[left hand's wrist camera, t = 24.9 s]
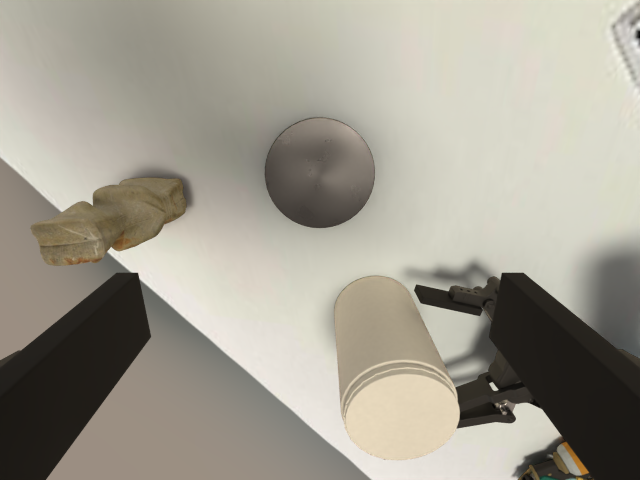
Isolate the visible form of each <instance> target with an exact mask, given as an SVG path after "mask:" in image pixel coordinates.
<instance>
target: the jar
mask: <svg viewBox="0 0 640 480" xmlns="http://www.w3.org/2000/svg"><path fill="white" fill-rule="evenodd" d="M334 317H335V332H336V346H337V361H338V375H339V390H340V404H341V414H342V418H343V421H344V424H345V429H346V431H347V433H348V435H349V437H350V439H351V440H352V441H353V442H354V443H355V444H356V445H357V446H358V447H359V448H360V449H362V450H363V451H365V452H366V453H368V454H370V455H373V456H376V457H379V458H383V459H387V460H407V459H413V458H418V457H421V456H424V455H427V454H429V453H431V452H433V451H435V450H436V449H438V448H440V447H441V446H442V445H444V444H445V443H446V442H447V441H448V440H449V439H450V437H451V436H452V435H453V433H454V432H455V430H456V428H457V426H458V422H459V417H460V409H459V404H458V397H457V392H456V388H455V386H454V384H453V382H452V380H451V378H450V376H449V374H448V372H447V369H446V367H445V365H444V363H443V361H442V359H441V357H440V355H439V353H438V351H437V349H436V347H435V345H434V343H433V340H432V338H431V336H430V334H429V332H428V330H427V328H426V326H425V324H424V322H423V320H422V318H421V316H420V314H419V311H418V309H417V307H416V305H415V303H414V301H413V299H412V297H411V295H410V293H409V292H408V290H407V289H406V288H405V287H404V286H403V285H402V284H401V283H399V282H397V281H395V280H393V279H391V278H387V277H382V276H370V277H365V278H361V279H359V280H356V281H354V282H353V283H351V284H350V285H348V286H347V287H346V288H345V289H344V290H343V291H342V292H341V294H340V295H339V297H338V298H337V301H336V303H335V308H334Z"/></svg>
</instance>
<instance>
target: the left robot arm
mask: <svg viewBox="0 0 640 480" xmlns="http://www.w3.org/2000/svg"><path fill="white" fill-rule="evenodd" d="M150 338H151V334H150V329H149V324H148V320H147V314H146V310H145V305H144V300H143V295H142V290H141V285H140V280H139V275H138V273H116V274H115V275H113V276H112V277H111V278H110V279H108V280H107V281H106V282H105V283H104V284H102V285H101V286H100V287H99V288H97V289H96V290H95V291H94V292H93V293H91V294H90V295H89V296H88V297H86V298H85V299H84V300H83V301H81V302H80V303H79V304H78V305H77V306H75V307H74V308H73V309H72V310H70V311H69V312H68V313H67V314H66V315H64V316H63V317H62V318H61V319H59V320H58V321H57V322H56V323H55V324H53V325H52V326H51V327H50V328H48V329H47V330H46V331H45V332H43V333H42V334H41V335H40V336H38V337H37V338H36V339H35V340H34V341H32V342H31V343H30V344H29V345H27V346H26V347H25V348H24V349H22V350H21V351H17V352H15V353H13V354H11V355H9V356H7V357H5V358H4V359H2V360H0V480H46V479H47V477H48V476H49V475H50V473H51V472H52V471H53V469H54V468H55V466H56V465H57V464H58V463H59V461H60V460H61V458H62V457H63V456H64V454H65V453H66V452H67V450H68V449H69V448H70V446H71V445H72V444H73V442H74V441H75V439H76V438H77V437H78V435H79V434H80V433H81V431H82V430H83V429H84V427H85V426H86V424H87V423H88V422H89V420H90V419H91V418H92V416H93V415H94V414H95V412H96V411H97V410H98V408H99V407H100V405H101V404H102V403H103V401H104V400H105V399H106V397H107V396H108V395H109V393H110V392H111V391H112V389H113V388H114V386H115V385H116V384H117V382H118V381H119V380H120V378H121V377H122V376H123V374H124V373H125V372H126V370H127V369H128V367H129V366H130V365H131V363H132V362H133V361H134V359H135V358H136V357H137V355H138V354H139V353H140V351H141V350H142V348H143V347H144V346H145V344H146V343H147V342H148V340H149V339H150ZM489 338H490V339H491V340H492V342H493V343H494V344H495V346H496V347H497V348H498V350H499V351H500V353H501V354H502V355H503V357H504V358H505V359H506V361H507V362H508V363H509V365H510V366H511V367H512V369H513V370H514V372H515V373H516V374H517V376H518V377H519V378H520V380H521V381H522V382H523V384H524V385H525V386H526V388H527V389H528V391H529V392H530V393H531V395H532V396H533V397H534V399H535V400H536V401H537V403H538V404H539V405H540V407H541V408H542V410H543V411H544V412H545V414H546V415H547V416H548V418H549V419H550V420H551V422H552V423H553V424H554V426H555V427H556V429H557V430H558V431H559V433H560V434H561V435H562V437H563V438H564V439H565V441H566V442H567V444H568V445H569V446H570V448H571V449H572V450H573V452H574V453H575V454H576V456H577V457H578V458H579V460H580V461H581V463H582V464H583V465H584V467H585V468H586V469H587V471H588V472H589V473H590V475H591V476H592V477H593V479H594V480H640V359H639V358H637V357H635V356H634V355H632V354H630V353H628V352H626V351H624V350H622V349H616V348H615V347H614V346H613V345H611V344H610V343H609V342H608V341H606V340H605V339H604V338H603V337H602V336H600V335H599V334H598V333H597V332H595V331H594V330H593V329H592V328H590V327H589V326H588V325H587V324H586V323H584V322H583V321H582V320H581V319H579V318H578V317H577V316H576V315H575V314H573V313H572V312H571V311H570V310H568V309H567V308H566V307H565V306H563V305H562V304H561V303H560V302H559V301H557V300H556V299H555V298H554V297H552V296H551V295H550V294H549V293H547V292H546V291H545V290H544V289H543V288H541V287H540V286H539V285H538V284H536V283H535V282H534V281H533V280H532V279H530V278H529V277H528V276H527V275H525V274H524V273H502V275H501V280H500V285H499V290H498V295H497V300H496V305H495V310H494V314H493V319H492V324H491V329H490V334H489Z"/></svg>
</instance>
